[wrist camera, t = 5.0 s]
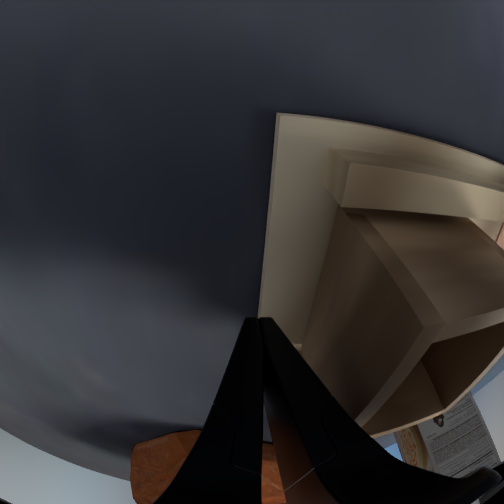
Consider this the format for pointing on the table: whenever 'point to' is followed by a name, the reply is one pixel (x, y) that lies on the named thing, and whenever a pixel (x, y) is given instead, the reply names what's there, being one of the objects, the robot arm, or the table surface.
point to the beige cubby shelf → (357, 198)
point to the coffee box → (450, 441)
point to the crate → (405, 315)
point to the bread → (171, 459)
